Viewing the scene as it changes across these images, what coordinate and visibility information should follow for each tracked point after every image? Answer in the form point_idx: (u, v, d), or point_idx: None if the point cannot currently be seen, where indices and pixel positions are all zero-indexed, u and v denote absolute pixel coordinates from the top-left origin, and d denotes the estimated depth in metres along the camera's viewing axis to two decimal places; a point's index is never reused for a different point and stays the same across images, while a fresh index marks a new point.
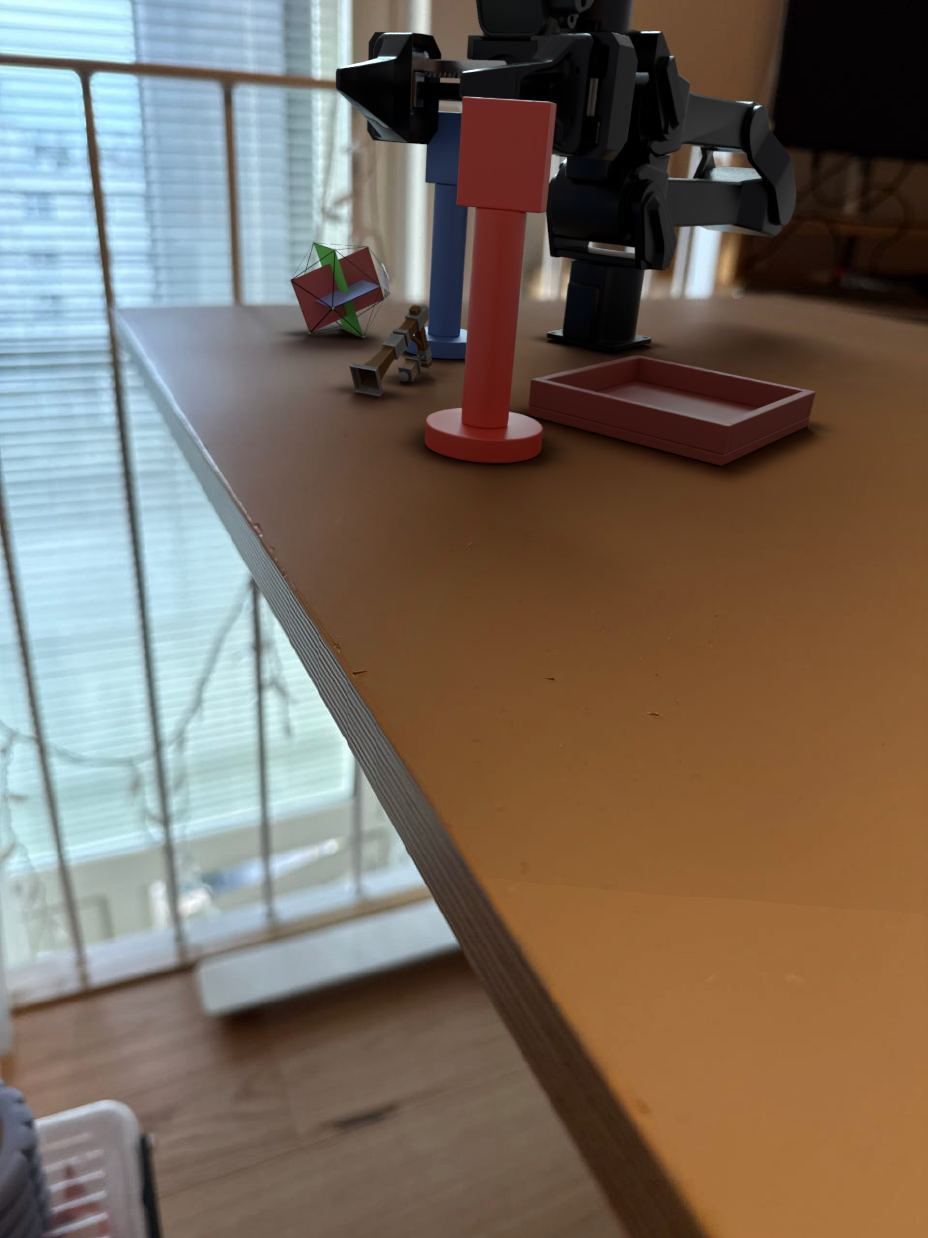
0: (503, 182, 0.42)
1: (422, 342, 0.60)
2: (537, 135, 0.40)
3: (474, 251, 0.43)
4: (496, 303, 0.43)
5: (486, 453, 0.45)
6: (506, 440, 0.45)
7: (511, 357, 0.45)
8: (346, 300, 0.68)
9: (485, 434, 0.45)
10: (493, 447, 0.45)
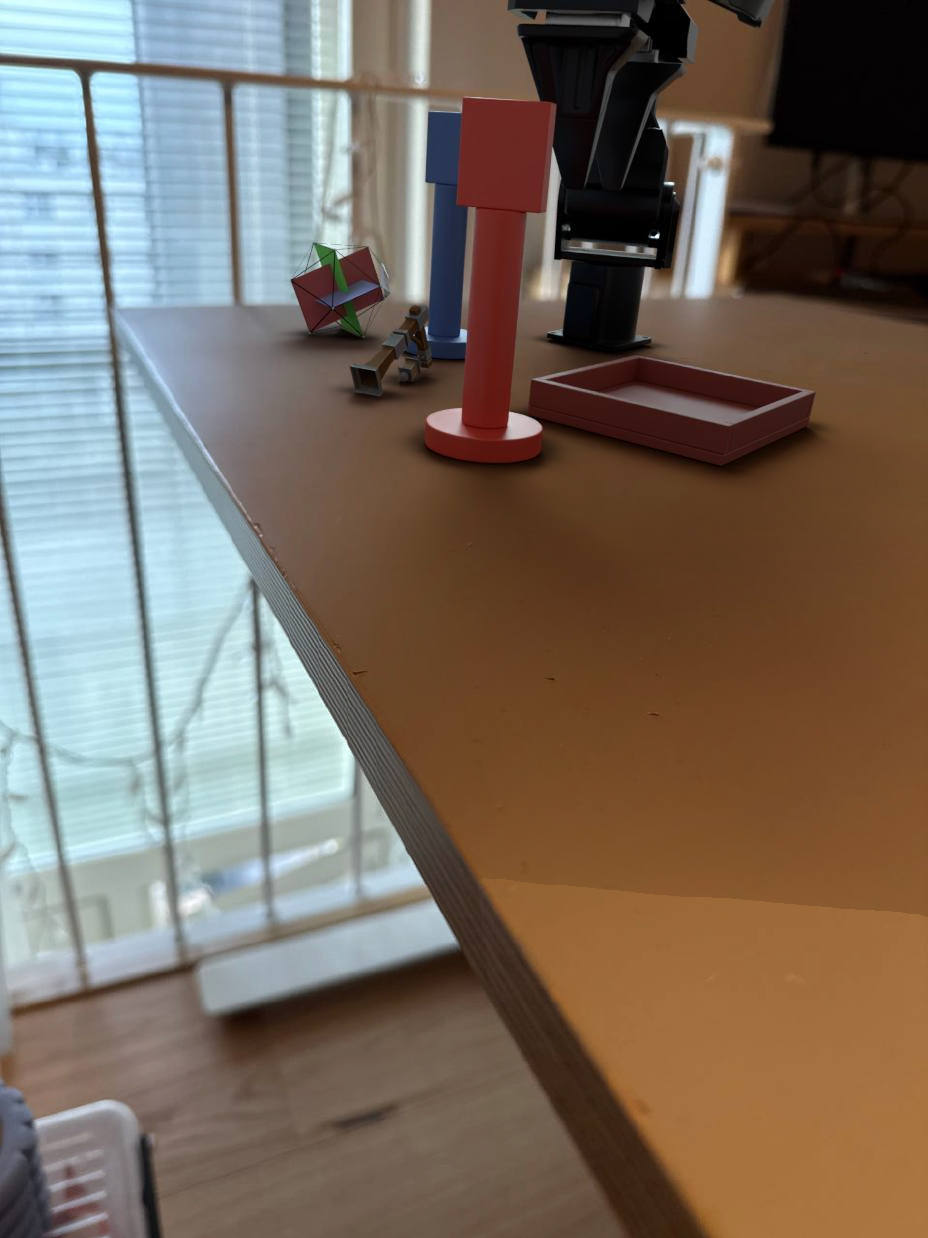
0: (503, 182, 0.42)
1: (422, 343, 0.60)
2: (537, 135, 0.40)
3: (474, 251, 0.43)
4: (496, 303, 0.43)
5: (486, 453, 0.45)
6: (506, 440, 0.45)
7: (511, 357, 0.45)
8: (346, 300, 0.68)
9: (485, 434, 0.45)
10: (493, 447, 0.45)
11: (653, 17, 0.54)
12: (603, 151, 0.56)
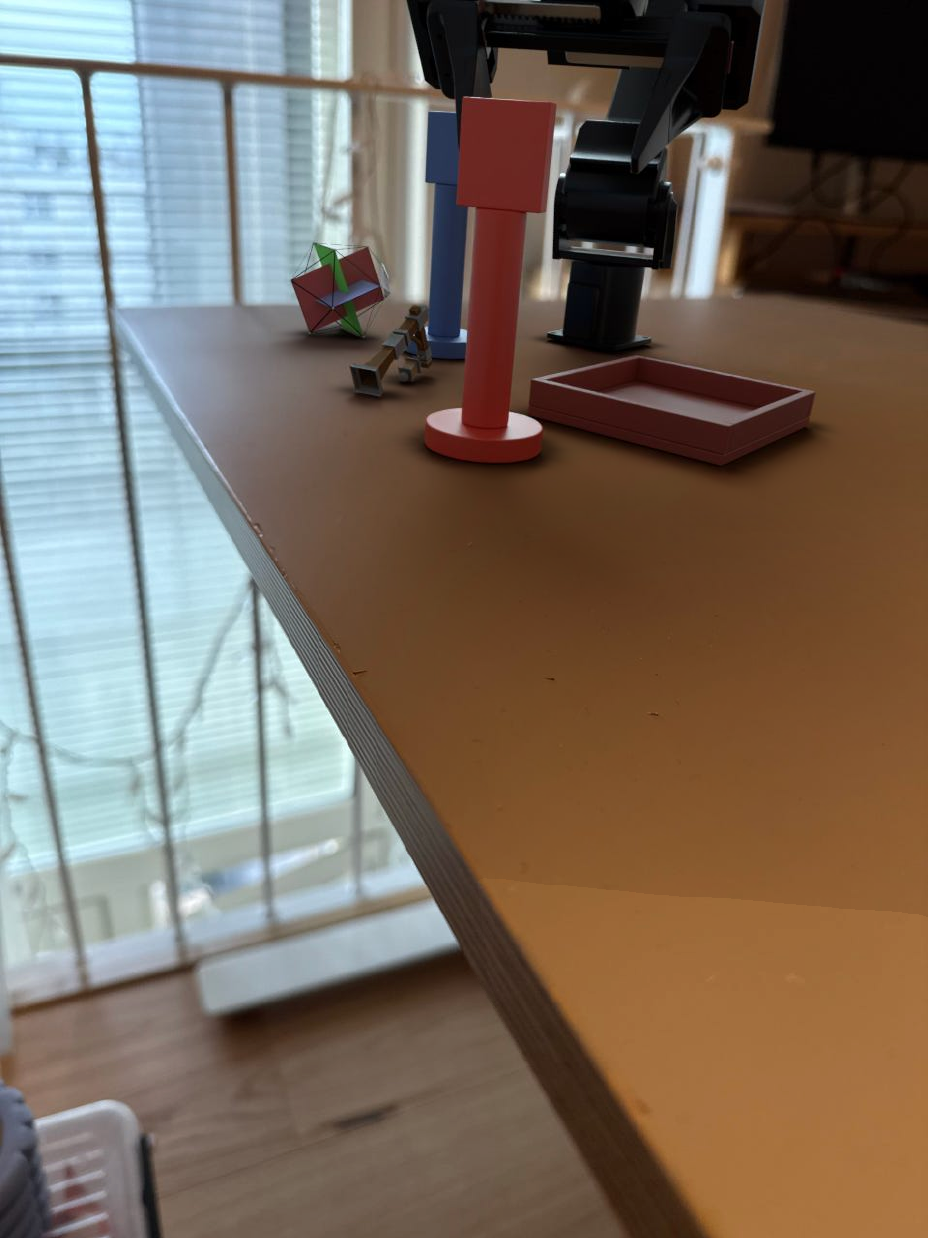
0: (503, 182, 0.42)
1: (422, 343, 0.60)
2: (537, 135, 0.40)
3: (474, 251, 0.43)
4: (496, 303, 0.43)
5: (486, 453, 0.45)
6: (506, 440, 0.45)
7: (511, 357, 0.45)
8: (346, 300, 0.68)
9: (485, 434, 0.45)
10: (493, 447, 0.45)
11: None
12: None
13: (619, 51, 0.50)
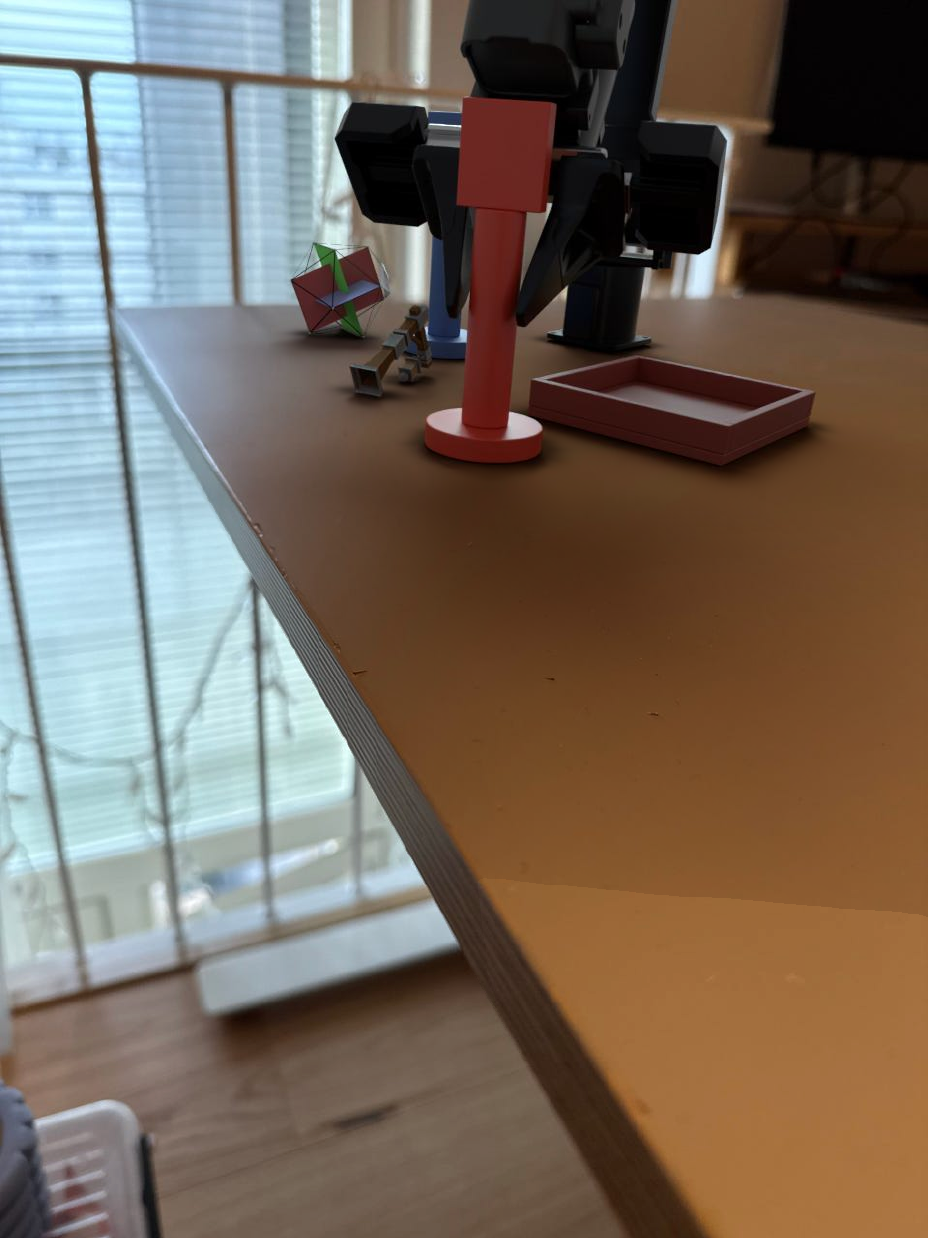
0: (503, 182, 0.42)
1: (422, 343, 0.60)
2: (537, 135, 0.40)
3: (474, 251, 0.43)
4: (496, 303, 0.43)
5: (486, 453, 0.45)
6: (506, 440, 0.45)
7: (511, 357, 0.45)
8: (346, 300, 0.68)
9: (485, 434, 0.45)
10: (493, 446, 0.45)
11: None
12: None
13: None
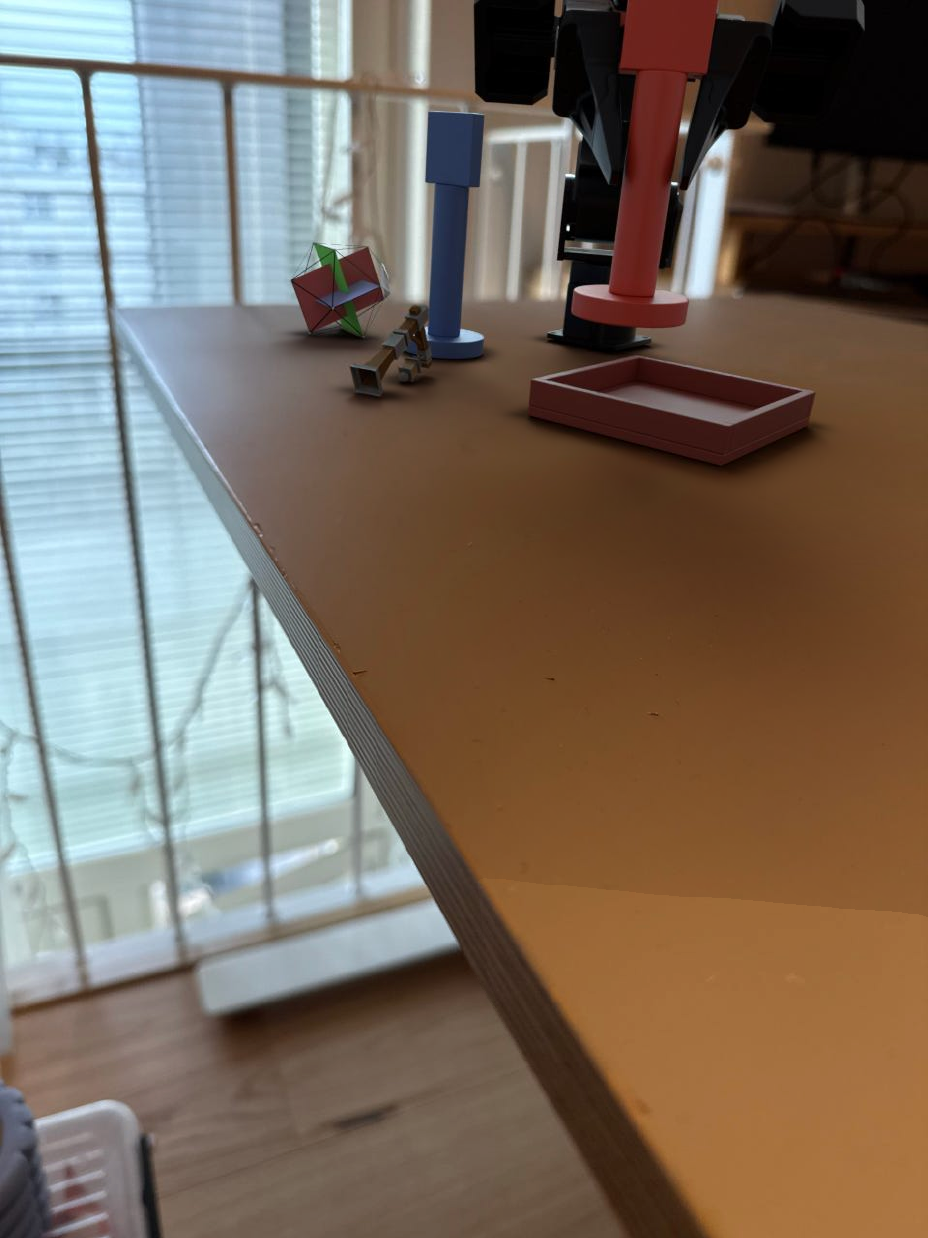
0: (671, 43, 0.43)
1: (422, 342, 0.60)
2: None
3: (638, 114, 0.44)
4: (660, 166, 0.45)
5: (652, 318, 0.46)
6: (670, 304, 0.46)
7: None
8: (346, 300, 0.68)
9: (646, 300, 0.47)
10: (659, 311, 0.46)
11: (772, 26, 0.46)
12: (681, 160, 0.46)
13: None
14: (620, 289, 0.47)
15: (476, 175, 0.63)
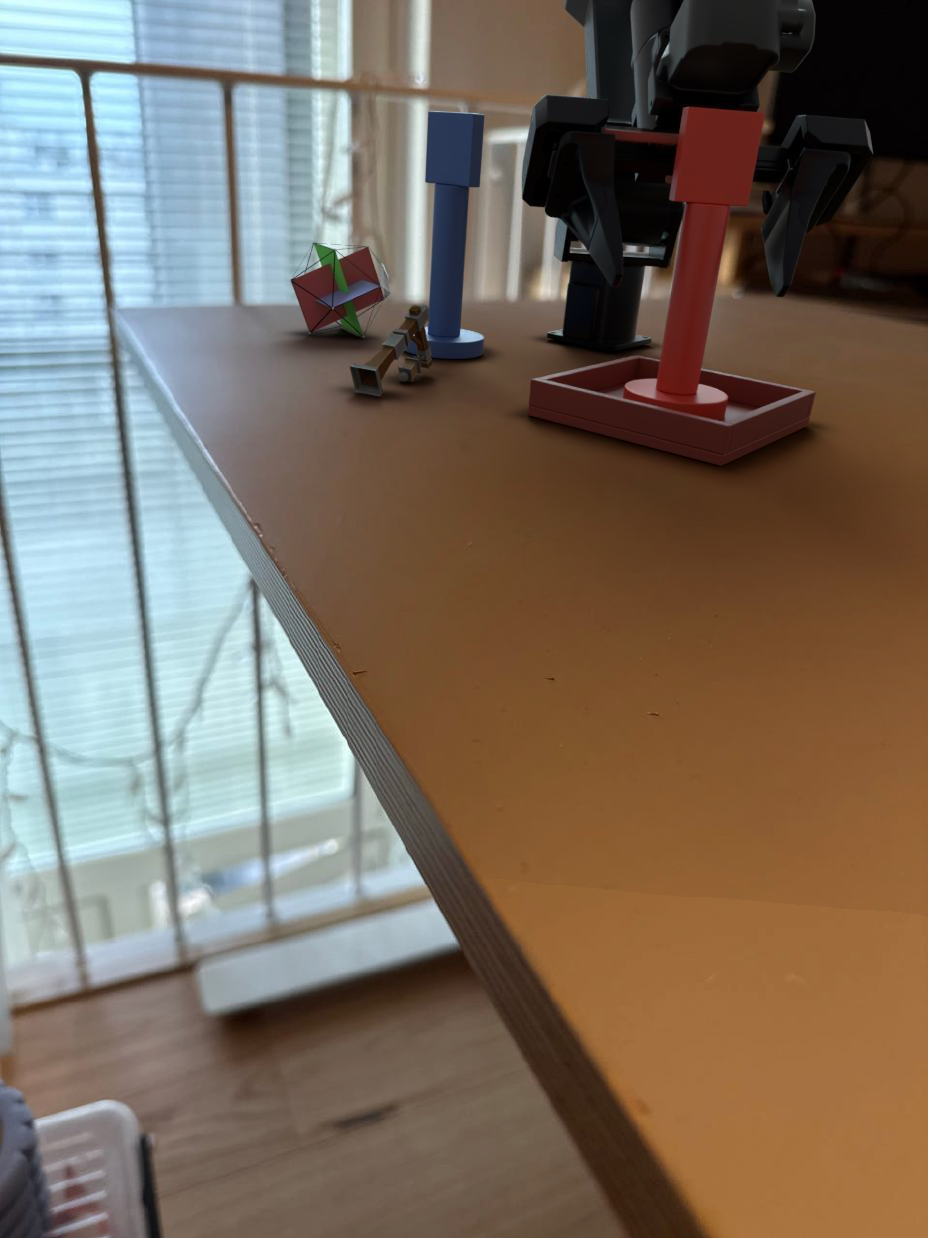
0: (718, 181, 0.49)
1: (422, 343, 0.60)
2: (751, 140, 0.48)
3: (689, 240, 0.50)
4: (708, 285, 0.50)
5: (704, 415, 0.52)
6: (718, 402, 0.52)
7: None
8: (346, 300, 0.68)
9: (696, 399, 0.52)
10: (709, 409, 0.52)
11: (789, 145, 0.53)
12: (771, 269, 0.52)
13: None
14: (670, 388, 0.53)
15: (476, 175, 0.63)
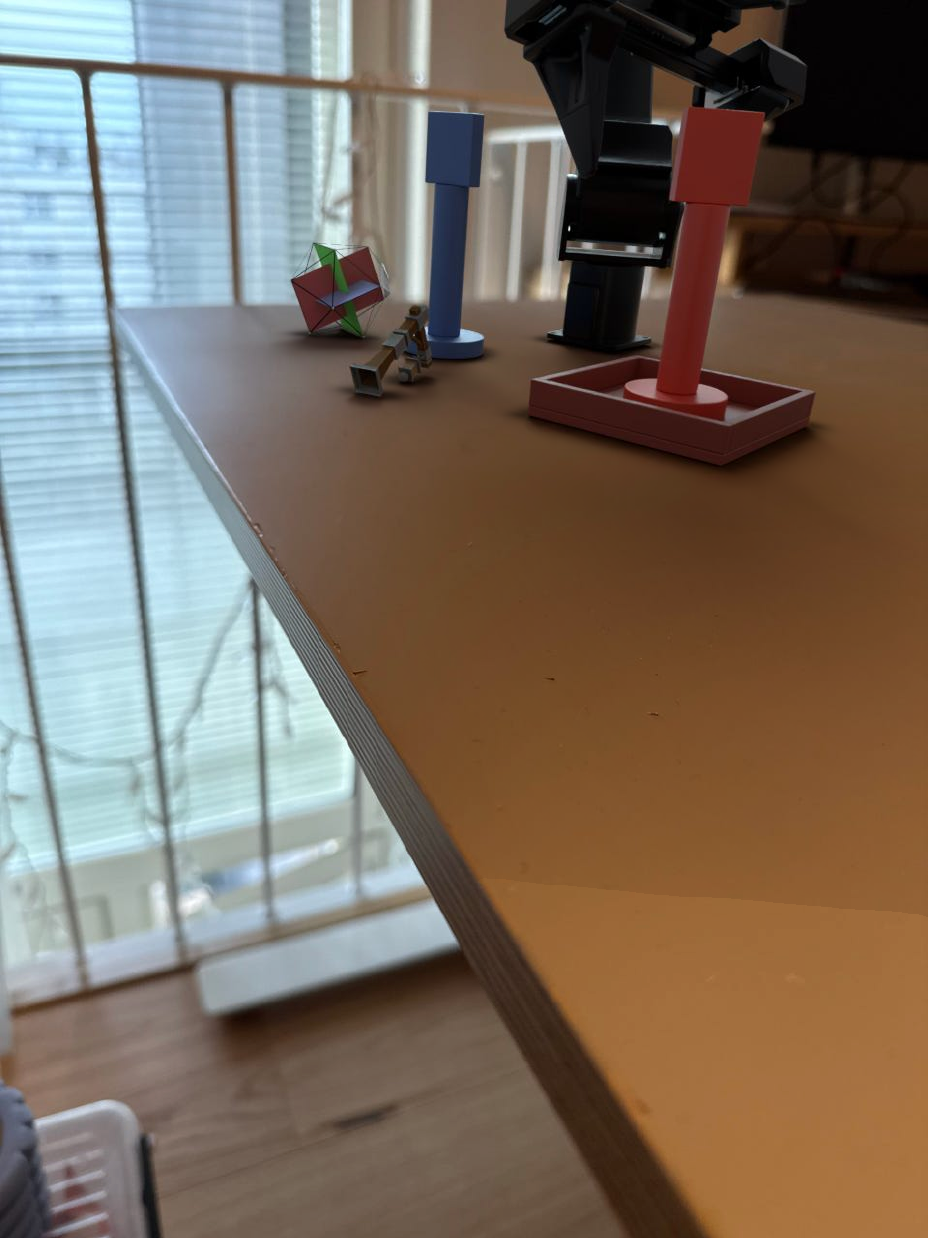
0: (718, 181, 0.49)
1: (422, 343, 0.60)
2: (751, 140, 0.48)
3: (689, 240, 0.50)
4: (708, 285, 0.50)
5: (704, 415, 0.52)
6: (718, 402, 0.52)
7: None
8: (346, 300, 0.68)
9: (696, 399, 0.52)
10: (709, 409, 0.52)
11: (741, 61, 0.56)
12: None
13: (685, 74, 0.55)
14: (670, 388, 0.53)
15: (476, 175, 0.63)
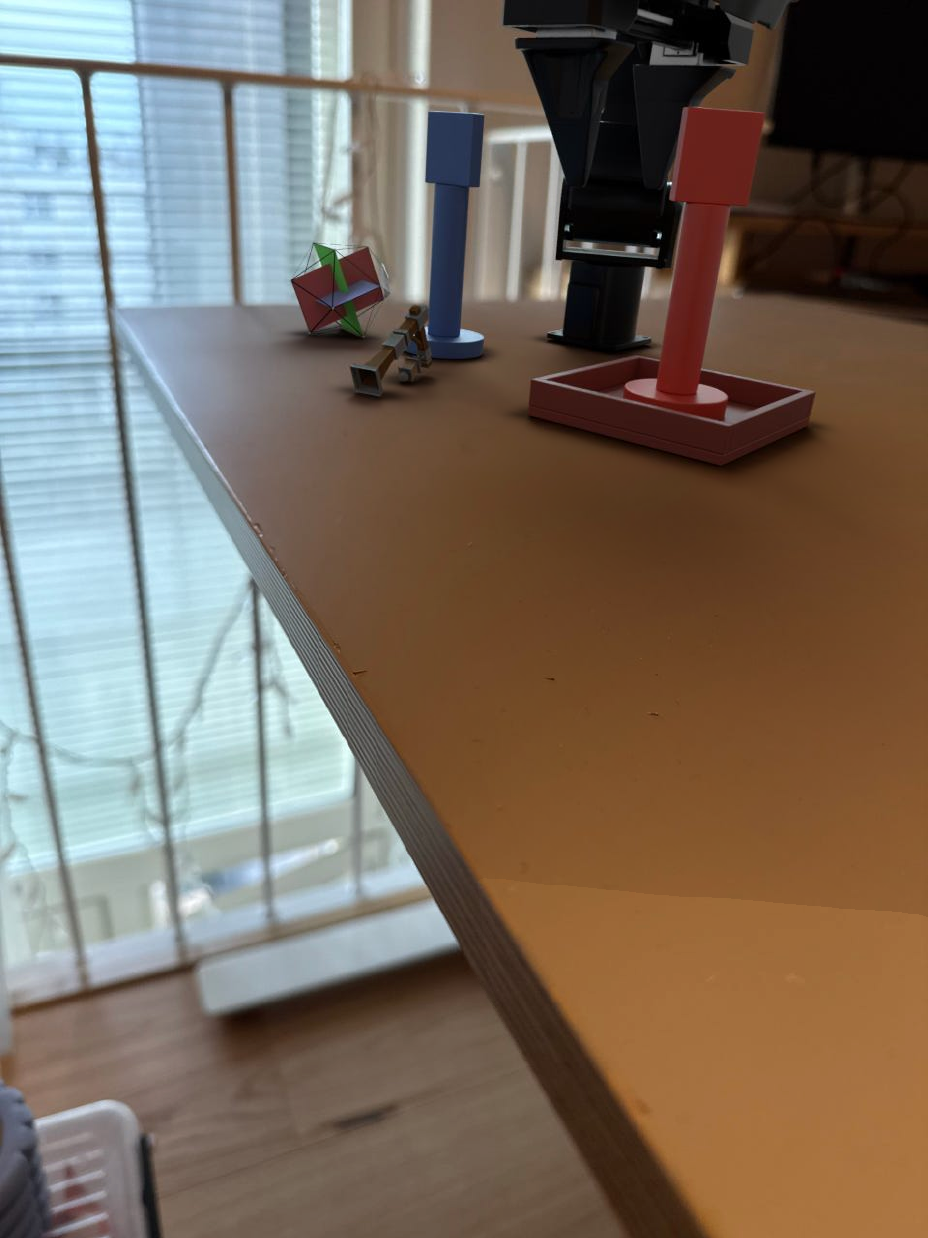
0: (718, 181, 0.49)
1: (422, 342, 0.60)
2: (751, 140, 0.48)
3: (689, 240, 0.50)
4: (708, 285, 0.50)
5: (704, 415, 0.52)
6: (718, 402, 0.52)
7: None
8: (346, 300, 0.68)
9: (696, 399, 0.52)
10: (709, 409, 0.52)
11: (698, 22, 0.56)
12: (646, 151, 0.59)
13: (650, 42, 0.55)
14: (670, 388, 0.53)
15: (476, 175, 0.63)
